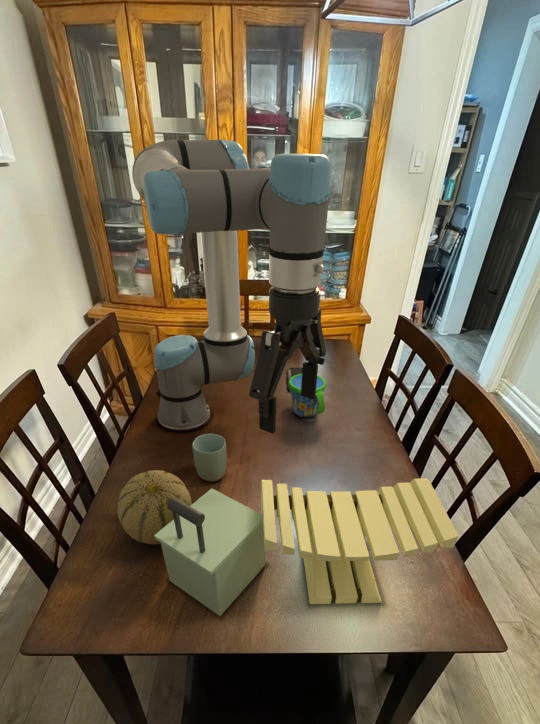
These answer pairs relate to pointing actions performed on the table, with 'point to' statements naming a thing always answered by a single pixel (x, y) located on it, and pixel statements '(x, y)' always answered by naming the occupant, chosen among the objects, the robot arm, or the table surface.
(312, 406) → the snack cup
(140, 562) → the table surface
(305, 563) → the slatted curved stool
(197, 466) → the cup
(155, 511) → the cantaloupe
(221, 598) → the green box
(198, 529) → the pale green box lid
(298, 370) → the phone
